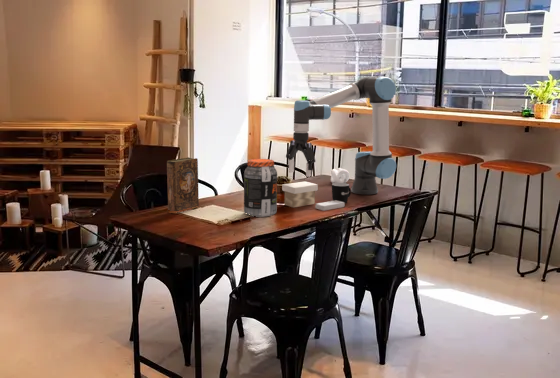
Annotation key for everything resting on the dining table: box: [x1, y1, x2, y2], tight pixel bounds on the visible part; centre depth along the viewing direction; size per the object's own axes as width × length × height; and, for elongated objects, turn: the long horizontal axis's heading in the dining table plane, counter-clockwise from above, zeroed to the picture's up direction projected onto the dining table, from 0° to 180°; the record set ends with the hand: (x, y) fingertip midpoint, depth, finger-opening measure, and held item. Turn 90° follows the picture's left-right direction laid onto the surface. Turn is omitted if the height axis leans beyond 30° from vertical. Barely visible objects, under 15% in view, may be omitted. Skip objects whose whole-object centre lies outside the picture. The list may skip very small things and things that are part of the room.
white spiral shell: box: [330, 167, 350, 184], centre depth 349 cm, size 11×12×9 cm
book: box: [166, 156, 200, 211], centre depth 276 cm, size 16×6×25 cm, turn 145°
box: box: [284, 191, 316, 208], centre depth 291 cm, size 14×7×8 cm, turn 128°
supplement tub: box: [243, 158, 278, 218], centre depth 272 cm, size 16×16×26 cm
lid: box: [281, 181, 319, 194], centre depth 290 cm, size 15×10×4 cm, turn 128°
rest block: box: [314, 200, 346, 212], centre depth 285 cm, size 14×6×3 cm, turn 128°
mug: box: [331, 182, 352, 204], centre depth 297 cm, size 12×9×10 cm
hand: (299, 174), depth 288 cm, fingers open, 13 cm apart
